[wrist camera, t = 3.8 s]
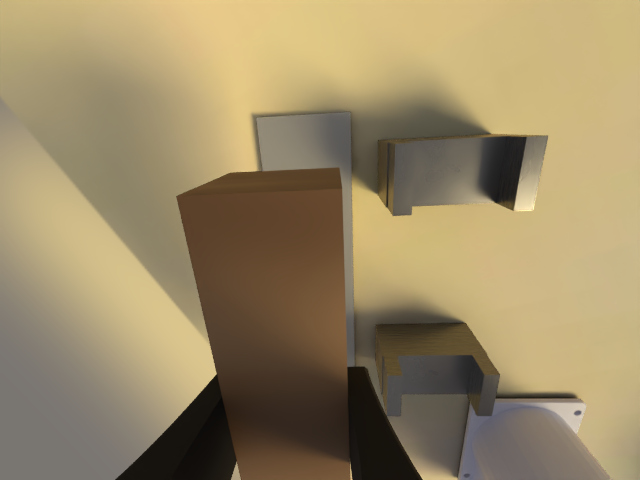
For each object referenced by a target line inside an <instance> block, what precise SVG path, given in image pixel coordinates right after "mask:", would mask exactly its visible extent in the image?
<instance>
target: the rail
mask: <svg viewBox="0 0 640 480" xmlns="http://www.w3.org/2000/svg"><path fill="white" fill-rule="evenodd" d="M176 197H177V201H178V205H179V210H180V214H181V219H182V223H183V227H184V232H185V236H186V241H187V245H188V249H189V254H190V258H191V262H192V267H193V271H194V276H195V280H196V284H197V289H198V293H199V298H200V302H201V306H202V311H203V315H204V319H205V324H206V328H207V333H208V337H209V341H210V346H211V350H212V355H213V359H214V363H215V368H216V372H217V376H218V381H219V385H220V390H221V394H222V398H223V403H224V407H225V412H226V416H227V420H228V425H229V429H230V433H231V438H232V442H233V447H234V451H235V455H236V460H237V464H238V468H239V473H240V477H241V480H350V448H349V412H348V376H347V340H346V304H345V268H344V232H343V196H342V183H341V175H340V168H339V167H336V168H316V169H296V170H276V171H256V172H236V173H229V174H227V175H224V176H222V177H220V178H217V179H215V180H213V181H210V182H208V183H206V184H203V185H201V186H199V187H197V188H194V189H192V190H190V191H187V192H185V193H183V194H180V195H178V196H176Z"/></svg>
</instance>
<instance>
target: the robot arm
mask: <svg viewBox="0 0 640 480" xmlns="http://www.w3.org/2000/svg"><path fill="white" fill-rule="evenodd" d="M347 376H348V412H349V448H350V463H351V471H352V479H353V480H422V478H421V476H420V475H419V473H418V472H417V470H416V468H415V467H414V465H413V463H412V462H411V460H410V458H409V457H408V455H407V453H406V451H405V450H404V448H403V446H402V445H401V443H400V441H399V439H398V437H397V435H396V434H395V432H394V430H393V428H392V426H391V424H390V422H389V420H388V418H387V416H386V414H385V412H384V410H383V408H382V406H381V404H380V401H379V399H378V397H377V395H376V392H375V390H374V387H373V385H372V382H371V379H370V376H369V373H368V369H366V368H365V367H347ZM585 410H586V404H585V403H584V402H583V401H582V400H581V399H577V398H572V399H495V403H494V408H493V413H492V416H477V415H476V413H475V411H474V409H473V407H472V405H471V403H470V407H469V413H468V419H467V425H466V432H465V438H464V444H463V450H462V456H461V462H460V468H459V474H458V480H612V479H611V477H610V476H609V475H608V474H607V472H606V471H605V470H604V469H603V467H602V466H601V465H600V464H599V462H598V461H597V460H596V459H595V457H594V456H593V455H592V454H591V452H590V451H589V450H588V448H587V447H586V446H585V445H584V443H583V442H582V441H581V440H580V438H579V437H578V436H577V433H578V430H579V427H580V424H581V421H582V418H583V415H584V412H585ZM236 462H237V460H236V455H235V451H234V447H233V442H232V438H231V433H230V429H229V425H228V420H227V416H226V412H225V407H224V403H223V398H222V394H221V390H220V385H219V381H218V376H217V375H216V376H215V377H214V378H213V379H212V380H211V381H210V382H209V384H208V385H207V386H206V387H205V388H204V389H203V391H202V392H201V393H200V394H199V395H198V396H197V397H196V399H194V401H193V402H192V403H191V404H190V405H189V406H188V407H187V408H186V410H184V412H183V413H182V414H181V415H180V416H179V417H178V418H177V419H176V420H175V421H174V423H172V425H171V426H170V427H169V428H168V429H167V430H166V431H165V432H164V433H163V434H162V435H161V436H160V437H159V438H158V439H157V440H156V441H155V442H154V443H153V444H152V445H151V446H150V447H149V448H148V449H147V450H146V451H145V452H144V453H143V454H142V455H141V456H140V457H139V458H138V459H137V460H136V461H135V462H134V463H133V464H132V465H131V466H130V467H129V468H128V469H126V470H125V471H124V472H123V473H122V474H121V475H120V476H119V477H118V478H117V479H115V480H231V477H232V474H233V471H234V468H235V465H236Z"/></svg>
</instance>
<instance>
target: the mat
mask: <svg viewBox="0 0 640 480" xmlns="http://www.w3.org/2000/svg"><path fill="white" fill-rule="evenodd" d="M256 120H257V128H258V137H259V145H260V154H261V162H262V171H276V170H296V169H316V168H336V167H339V168H340V175H341V183H342V196H343V232H344V268H345V304H346V340H347V367H355V347H354V287H353V227H352V167H351V112H339V113H323V114H307V115H290V116H274V117H257V118H256Z"/></svg>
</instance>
